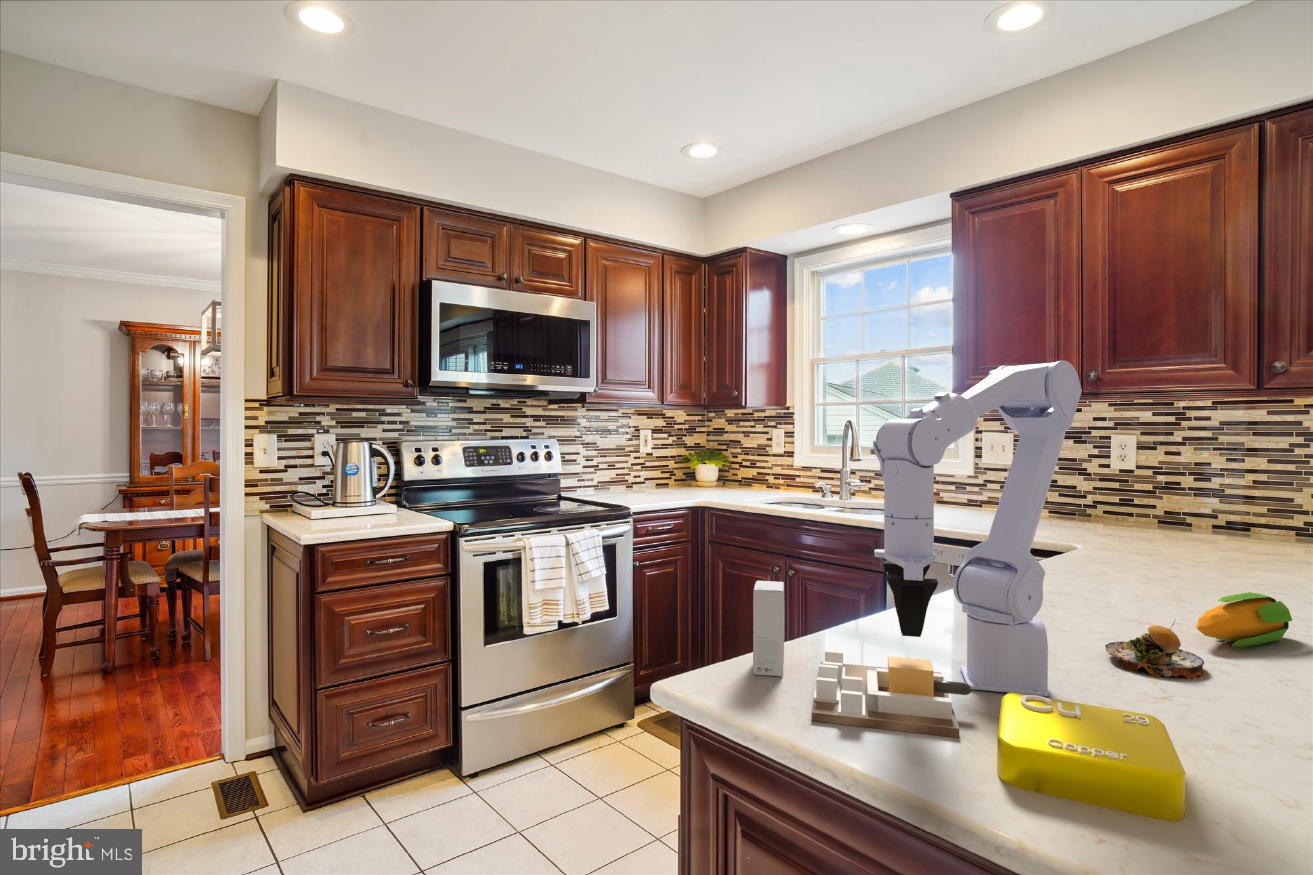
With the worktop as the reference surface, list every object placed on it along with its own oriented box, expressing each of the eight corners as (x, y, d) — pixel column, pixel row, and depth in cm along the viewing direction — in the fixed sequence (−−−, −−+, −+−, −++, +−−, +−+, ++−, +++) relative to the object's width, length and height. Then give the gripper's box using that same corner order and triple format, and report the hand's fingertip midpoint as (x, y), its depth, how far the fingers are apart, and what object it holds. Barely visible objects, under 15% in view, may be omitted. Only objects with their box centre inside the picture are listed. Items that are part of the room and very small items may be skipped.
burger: (1147, 649, 106) (1148, 601, 106) (1227, 676, 95) (1228, 622, 95) (1084, 656, 104) (1084, 606, 103) (1158, 684, 92) (1158, 629, 92)
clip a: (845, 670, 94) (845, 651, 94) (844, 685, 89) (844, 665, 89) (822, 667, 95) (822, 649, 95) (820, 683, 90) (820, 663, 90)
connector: (968, 699, 84) (968, 663, 84) (973, 712, 80) (973, 674, 80) (887, 691, 87) (887, 656, 87) (889, 703, 83) (889, 666, 83)
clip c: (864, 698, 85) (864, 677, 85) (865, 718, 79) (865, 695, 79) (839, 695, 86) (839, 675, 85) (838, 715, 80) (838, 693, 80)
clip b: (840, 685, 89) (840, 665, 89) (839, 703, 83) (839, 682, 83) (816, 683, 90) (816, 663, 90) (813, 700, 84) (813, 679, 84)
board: (941, 679, 93) (941, 672, 93) (959, 737, 76) (959, 728, 76) (820, 668, 98) (820, 661, 98) (811, 720, 81) (811, 712, 81)
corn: (1304, 592, 109) (1229, 605, 102) (1308, 640, 109) (1233, 657, 101) (1249, 585, 116) (1175, 597, 109) (1252, 631, 116) (1178, 646, 108)
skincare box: (783, 677, 95) (783, 590, 94) (752, 675, 95) (752, 589, 95) (784, 662, 101) (784, 581, 100) (755, 660, 101) (755, 579, 101)
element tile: (996, 786, 66) (996, 737, 66) (1002, 726, 80) (1002, 685, 80) (1189, 829, 59) (1190, 774, 59) (1161, 755, 72) (1161, 710, 72)
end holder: (942, 689, 87) (942, 673, 87) (951, 719, 78) (951, 702, 78) (866, 681, 90) (866, 666, 90) (867, 710, 81) (867, 693, 81)
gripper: (872, 508, 92) (872, 608, 93) (876, 523, 78) (876, 641, 79) (929, 509, 90) (928, 612, 91) (942, 525, 76) (942, 646, 77)
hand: (908, 626), depth 85 cm, fingers open, 7 cm apart
